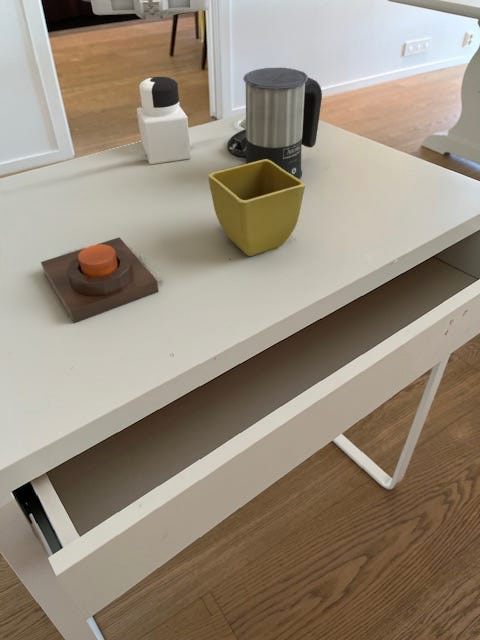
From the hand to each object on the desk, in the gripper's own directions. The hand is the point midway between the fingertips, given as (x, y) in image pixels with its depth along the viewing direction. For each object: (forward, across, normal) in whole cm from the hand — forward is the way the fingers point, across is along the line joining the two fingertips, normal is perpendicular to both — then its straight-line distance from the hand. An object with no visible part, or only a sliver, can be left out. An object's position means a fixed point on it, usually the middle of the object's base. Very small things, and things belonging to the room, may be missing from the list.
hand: (151, 6), depth 84 cm
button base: (+48, -9, +20) cm, 53 cm away
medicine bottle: (+12, 0, +20) cm, 23 cm away
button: (+49, -8, +17) cm, 53 cm away
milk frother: (+19, +15, +20) cm, 32 cm away
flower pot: (+42, +11, +20) cm, 48 cm away
